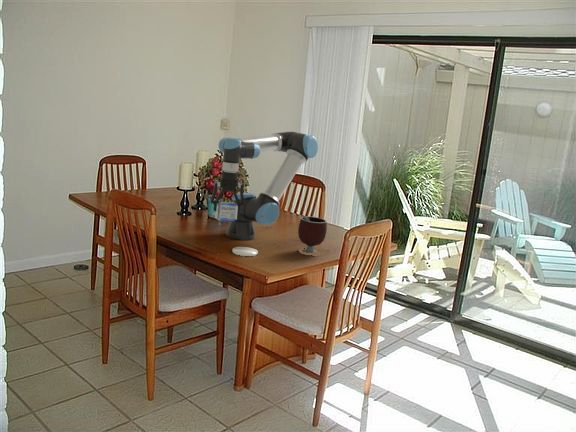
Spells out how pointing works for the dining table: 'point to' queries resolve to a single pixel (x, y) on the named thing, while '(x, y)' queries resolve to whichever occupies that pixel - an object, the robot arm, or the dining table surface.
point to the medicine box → (226, 211)
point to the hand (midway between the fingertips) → (225, 218)
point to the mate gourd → (312, 232)
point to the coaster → (245, 251)
